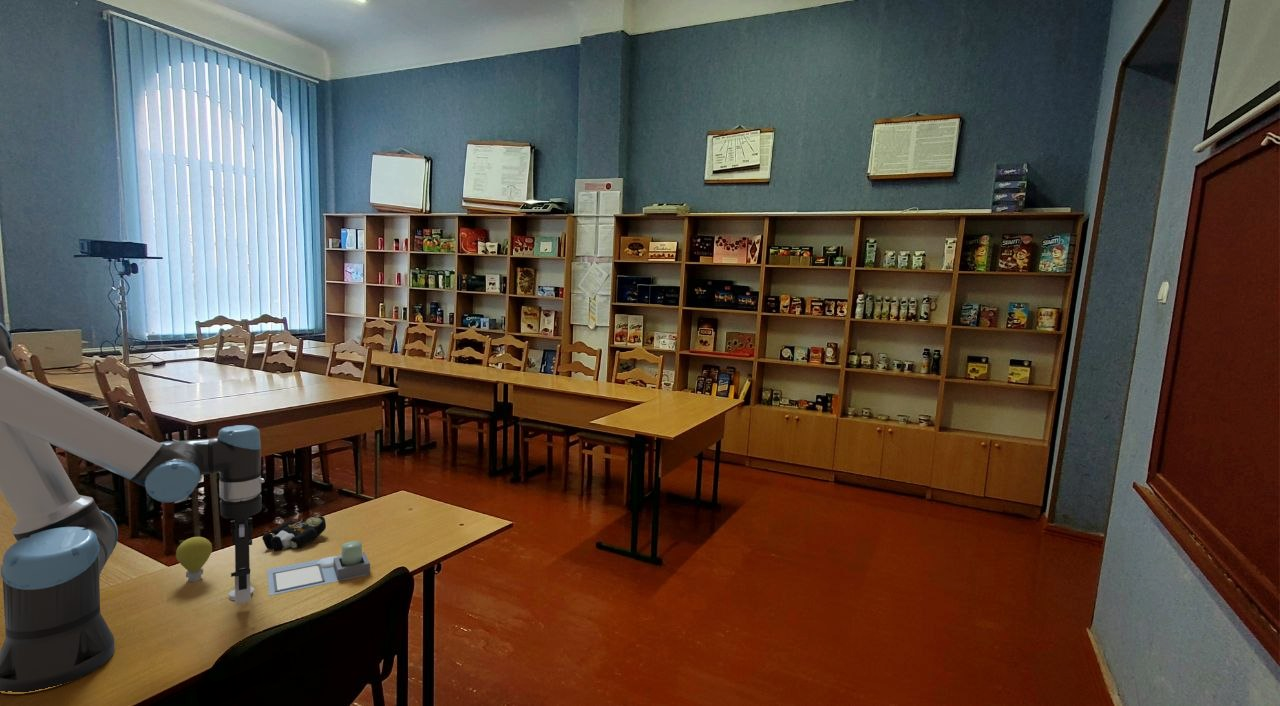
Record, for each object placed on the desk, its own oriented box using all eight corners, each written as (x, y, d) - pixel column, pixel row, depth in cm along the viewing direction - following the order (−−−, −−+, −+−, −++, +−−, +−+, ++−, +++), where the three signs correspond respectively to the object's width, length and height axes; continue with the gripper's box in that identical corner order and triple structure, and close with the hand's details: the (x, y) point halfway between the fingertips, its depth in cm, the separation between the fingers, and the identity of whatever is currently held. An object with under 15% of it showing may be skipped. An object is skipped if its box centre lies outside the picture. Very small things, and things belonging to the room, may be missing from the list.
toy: (251, 532, 149) (305, 500, 161) (260, 555, 151) (312, 523, 164) (280, 544, 143) (333, 510, 156) (288, 568, 146) (340, 533, 158)
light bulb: (215, 579, 132) (215, 538, 131) (179, 589, 127) (178, 546, 126) (209, 569, 137) (208, 529, 136) (173, 578, 132) (173, 537, 131)
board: (269, 599, 125) (269, 584, 125) (267, 572, 137) (267, 559, 136) (370, 577, 137) (370, 564, 137) (360, 554, 149) (360, 542, 148)
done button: (343, 568, 135) (343, 550, 135) (340, 560, 139) (340, 543, 138) (363, 564, 138) (363, 546, 137) (360, 557, 141) (360, 539, 141)
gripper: (263, 511, 117) (264, 609, 119) (260, 477, 137) (261, 561, 139) (218, 518, 112) (220, 619, 114) (221, 482, 132) (223, 568, 135)
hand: (242, 587), depth 127 cm, fingers open, 13 cm apart
